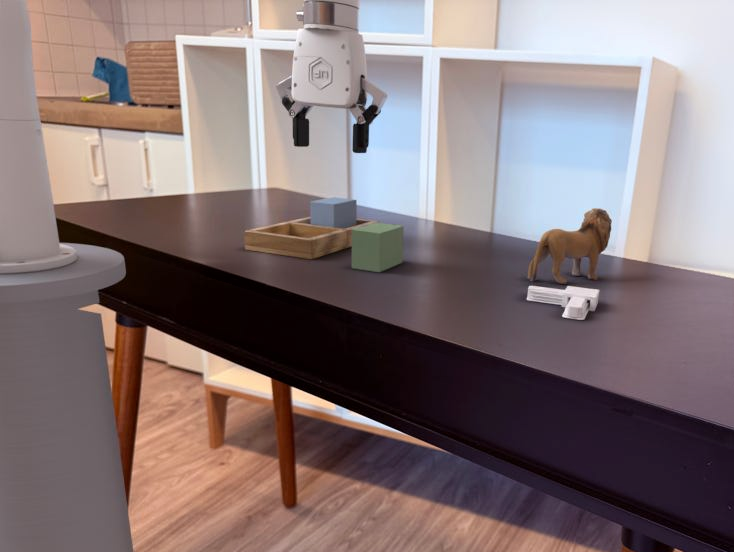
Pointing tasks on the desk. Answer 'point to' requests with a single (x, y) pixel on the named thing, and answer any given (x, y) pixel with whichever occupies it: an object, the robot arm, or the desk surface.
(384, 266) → the pad
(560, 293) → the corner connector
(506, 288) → the desk surface
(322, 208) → the blue-grey block
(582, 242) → the lion figurine
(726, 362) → the desk surface
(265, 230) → the tray
